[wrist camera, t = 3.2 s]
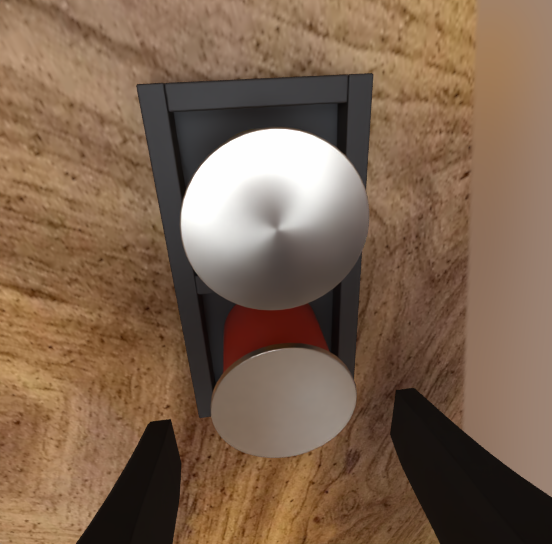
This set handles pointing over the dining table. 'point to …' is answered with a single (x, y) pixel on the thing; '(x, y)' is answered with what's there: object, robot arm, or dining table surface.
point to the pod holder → (207, 137)
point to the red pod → (279, 384)
